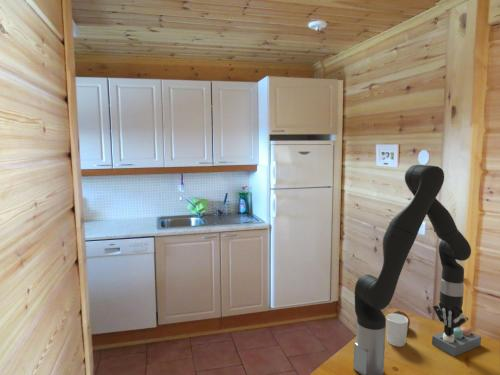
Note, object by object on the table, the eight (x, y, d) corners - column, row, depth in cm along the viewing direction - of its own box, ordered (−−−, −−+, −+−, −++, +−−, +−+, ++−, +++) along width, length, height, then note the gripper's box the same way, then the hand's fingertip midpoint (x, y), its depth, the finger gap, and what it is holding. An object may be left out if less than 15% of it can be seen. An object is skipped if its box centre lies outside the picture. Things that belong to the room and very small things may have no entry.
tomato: (386, 328, 149) (387, 312, 148) (393, 321, 155) (393, 305, 154) (406, 334, 144) (407, 318, 143) (412, 327, 150) (413, 311, 149)
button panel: (454, 356, 129) (454, 347, 129) (431, 344, 137) (432, 335, 137) (480, 345, 136) (481, 336, 136) (458, 334, 144) (458, 326, 144)
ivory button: (449, 349, 132) (450, 339, 131) (440, 344, 135) (440, 334, 135) (455, 346, 134) (456, 336, 133) (446, 341, 137) (447, 331, 137)
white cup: (409, 348, 135) (410, 324, 133) (387, 346, 136) (388, 322, 135) (404, 337, 142) (405, 314, 141) (383, 335, 144) (384, 312, 143)
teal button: (458, 343, 134) (458, 333, 134) (448, 338, 137) (449, 328, 137) (464, 340, 136) (465, 331, 135) (454, 336, 139) (455, 326, 139)
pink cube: (466, 342, 136) (466, 332, 136) (456, 337, 140) (457, 327, 139) (472, 339, 138) (473, 330, 138) (462, 335, 141) (463, 325, 141)
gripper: (429, 286, 136) (426, 329, 138) (462, 300, 124) (459, 346, 126) (441, 283, 139) (439, 324, 142) (475, 296, 128) (472, 341, 130)
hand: (448, 334), depth 134 cm, fingers closed
